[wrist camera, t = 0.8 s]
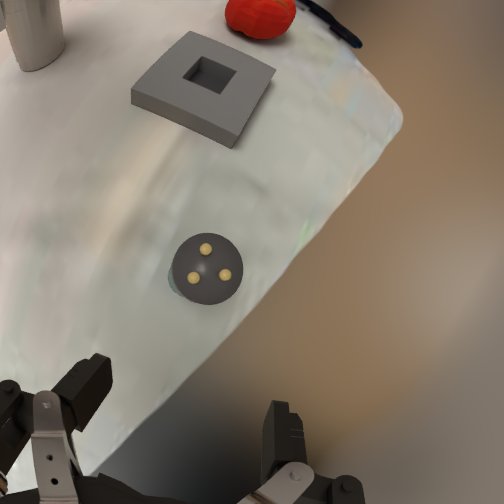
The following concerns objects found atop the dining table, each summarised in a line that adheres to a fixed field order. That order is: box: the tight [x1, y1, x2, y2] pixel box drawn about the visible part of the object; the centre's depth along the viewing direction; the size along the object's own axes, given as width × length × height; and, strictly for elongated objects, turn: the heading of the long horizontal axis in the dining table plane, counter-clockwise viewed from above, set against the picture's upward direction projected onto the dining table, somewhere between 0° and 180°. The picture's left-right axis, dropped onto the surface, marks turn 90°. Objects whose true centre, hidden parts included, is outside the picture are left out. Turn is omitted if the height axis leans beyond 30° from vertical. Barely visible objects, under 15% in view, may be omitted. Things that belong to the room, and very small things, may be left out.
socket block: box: [131, 31, 276, 149], centre depth 35 cm, size 16×16×4 cm
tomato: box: [225, 0, 296, 39], centre depth 37 cm, size 14×13×10 cm
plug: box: [168, 233, 243, 305], centre depth 26 cm, size 5×5×14 cm
